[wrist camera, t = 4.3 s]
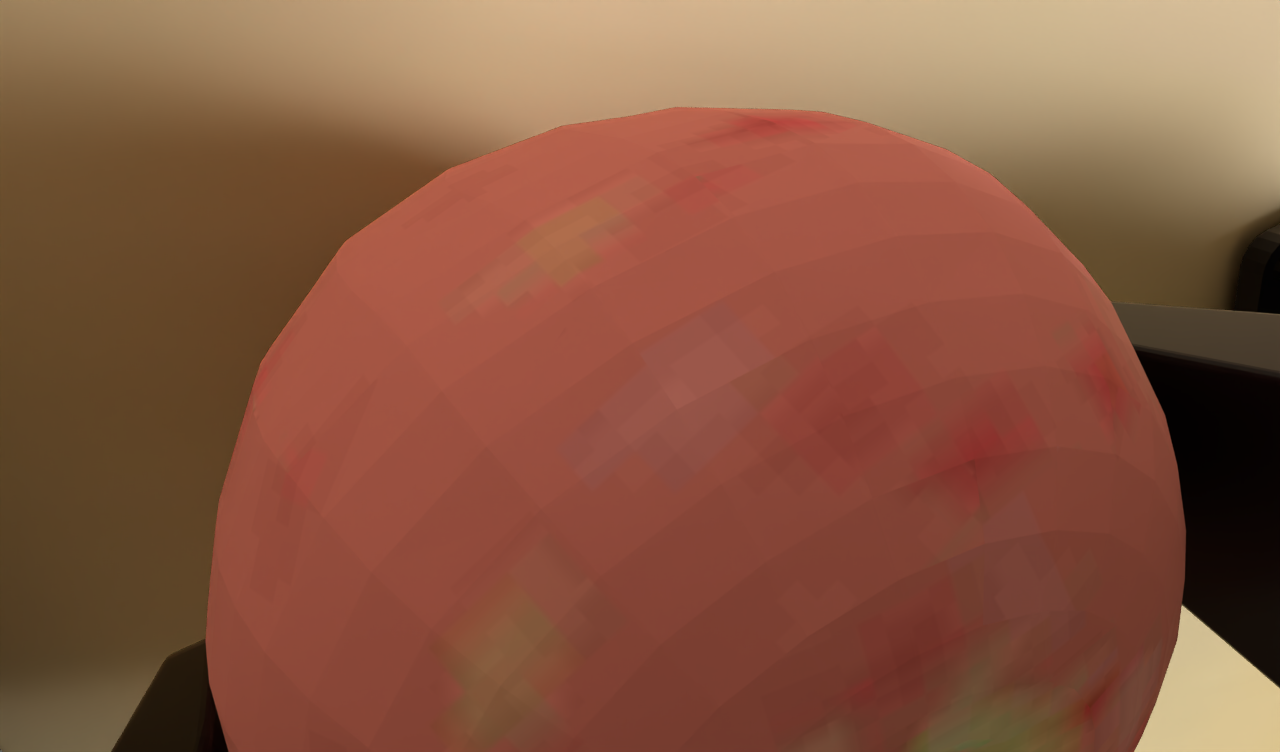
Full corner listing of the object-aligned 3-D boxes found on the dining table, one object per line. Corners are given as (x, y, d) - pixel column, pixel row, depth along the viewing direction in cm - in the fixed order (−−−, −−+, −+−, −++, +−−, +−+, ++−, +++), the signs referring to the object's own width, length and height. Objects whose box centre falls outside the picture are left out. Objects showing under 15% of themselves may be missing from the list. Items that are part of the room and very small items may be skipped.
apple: (96, 81, 8) (-150, 765, 2) (813, 7, 11) (1794, 175, 4) (280, 697, 12) (422, 1695, 5) (790, 531, 14) (1314, 1066, 8)
